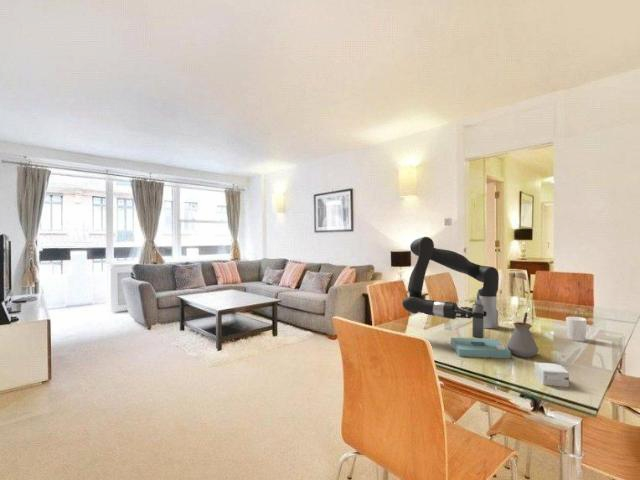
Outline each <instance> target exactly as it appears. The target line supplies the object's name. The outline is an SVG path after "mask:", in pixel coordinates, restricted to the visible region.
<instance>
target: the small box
mask: <svg viewBox="0 0 640 480" xmlns="http://www.w3.org/2000/svg"><path fill="white" fill-rule="evenodd" d="M534 376H535V378H536V379H537V380H538V381H539V382H540V383H541V384H542V385H543V386H552V385H553V386H556V387H566V388H568V387H570V373H569V371H567V370H566V369H565V368H564V367H563V366H561V365H560V364H559V363H549V362H548V363H547V362H534Z"/></svg>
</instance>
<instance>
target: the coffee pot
mask: <svg viewBox="0 0 640 480" xmlns="http://www.w3.org/2000/svg"><path fill="white" fill-rule="evenodd" d="M528 315H529V313H528V312H524V313H523V320H522V322H519V321H517V322H513V325H514V330H513V332H512V334H511V336H510V338H509V340H508V342H507V345H506V348H507V349H509V350H510V351H511V353H512V355H514V356H516V357H521V358H532V357H534V356H535V355H537V353H538V352H539V348H538V346H537V343H536V341H535V339H534V337H533V335H532V332H531V331H530V329H531V328H532V324H530V323H527V318H528Z"/></svg>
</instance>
